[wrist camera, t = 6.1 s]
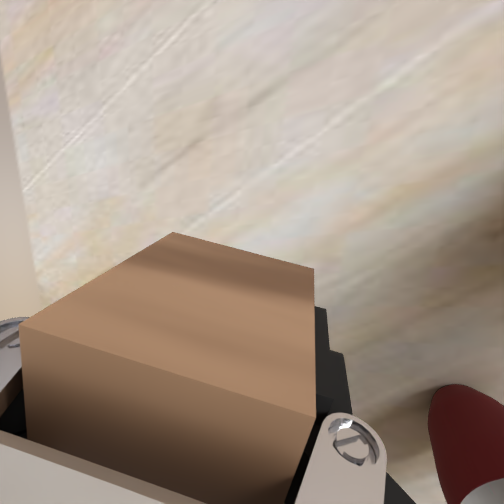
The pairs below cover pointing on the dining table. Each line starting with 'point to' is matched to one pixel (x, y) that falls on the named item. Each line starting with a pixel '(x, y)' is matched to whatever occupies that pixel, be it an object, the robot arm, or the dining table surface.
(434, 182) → the dining table surface
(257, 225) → the dining table surface
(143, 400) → the walnut block
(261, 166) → the dining table surface
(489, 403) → the mug
